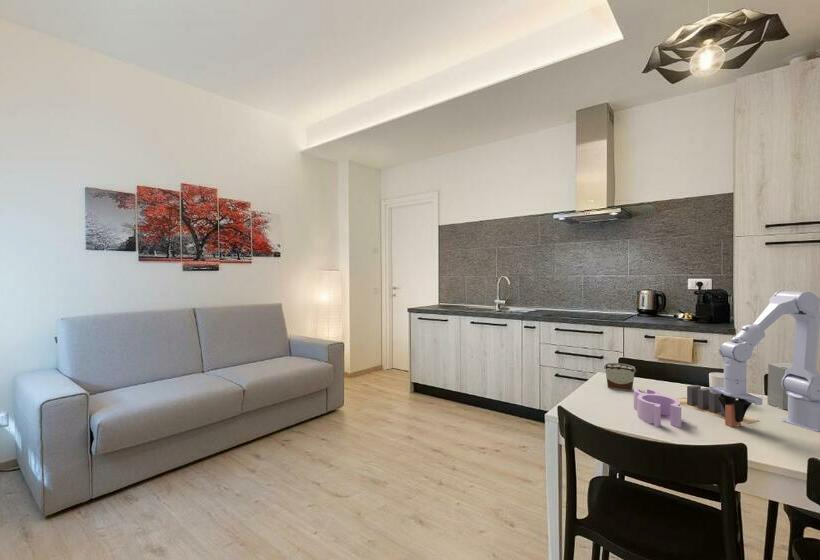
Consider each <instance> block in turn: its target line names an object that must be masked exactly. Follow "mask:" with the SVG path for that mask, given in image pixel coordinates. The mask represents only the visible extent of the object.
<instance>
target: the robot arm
mask: <svg viewBox="0 0 820 560" xmlns="http://www.w3.org/2000/svg"><path fill="white" fill-rule="evenodd" d="M783 315H790V316H791V317H792V318H794V319H795V331H794V339H793V340H794V343H793V355H792V363H793V365H792V367H790V368H788V369H786V370H785V374H784V377H783V378H782V381H781V385H782V388H783V389H784V390H785V391H786V394H788V409H787V418H781V419H780V421H781V422H783V423H787V424H790V425H794V426H797V427H800V428H804V429H806V430H811V431H814V432H817V433H818V432H820V372H819V371H818V370H817V359H818V347H819V336H820V335H819V334H820V297H818V296H817V295H816V294H814V292H812V291H795V290H794V291H792V290H783V289H782V290H777V291H776V292H775V293H773V295H772V296H771V297H769V303H768V305H767V306H766V307H765V309H764V310H763V311H762V312H761V314H759V316H758V317H757V318H756V320H755V321H754V322H752V324H745V325H743V326H742V327H741V328H740V330H739V331H738V332H737V334H736V335H735V336H733V337H732V338H731V340H729V341H725V342H723V343H721V346H720V348H718V353H719V355H720V356H721V358H722V362H723V373H724V388H722V387H717V386H710V385H709V389H710V392H712V393H714V392H715V393H718V394H721V395H720V396H718V399H719V401H720V402H721V404H722V406H723V408H724V410H725V405H728V404H733V403H734V406H735V411H736V422H742V421H743V418H744V416H745V415H746V413H747V411H748V409H749V408H750V407H751V405H752V404H754V406H755V405H756V406H761V405H763V401H764V399H763V398H761V397H758V396H756V395H753V394H750V393H748V392H747V361H748V360H751V358H752V356H753V351H754V349H755V347H756V346H757V345H758V344H759V343H760V342H761V341H762V340H763V339H764V338H765V337H766V333H765V331H766V330H767V329H768V328H769V327H771V326H772V325H773V324H774V323H775V322H776V321H777V320H778V319H779V318H781V317H782V316H783ZM735 399H736V400H735Z"/></svg>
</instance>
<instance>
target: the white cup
mask: <svg viewBox="0 0 820 560" xmlns="http://www.w3.org/2000/svg"><path fill="white" fill-rule="evenodd" d="M708 379H709V380H708V383H709V387H710V386H717V387H722V388H724V372H709V373H708Z"/></svg>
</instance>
